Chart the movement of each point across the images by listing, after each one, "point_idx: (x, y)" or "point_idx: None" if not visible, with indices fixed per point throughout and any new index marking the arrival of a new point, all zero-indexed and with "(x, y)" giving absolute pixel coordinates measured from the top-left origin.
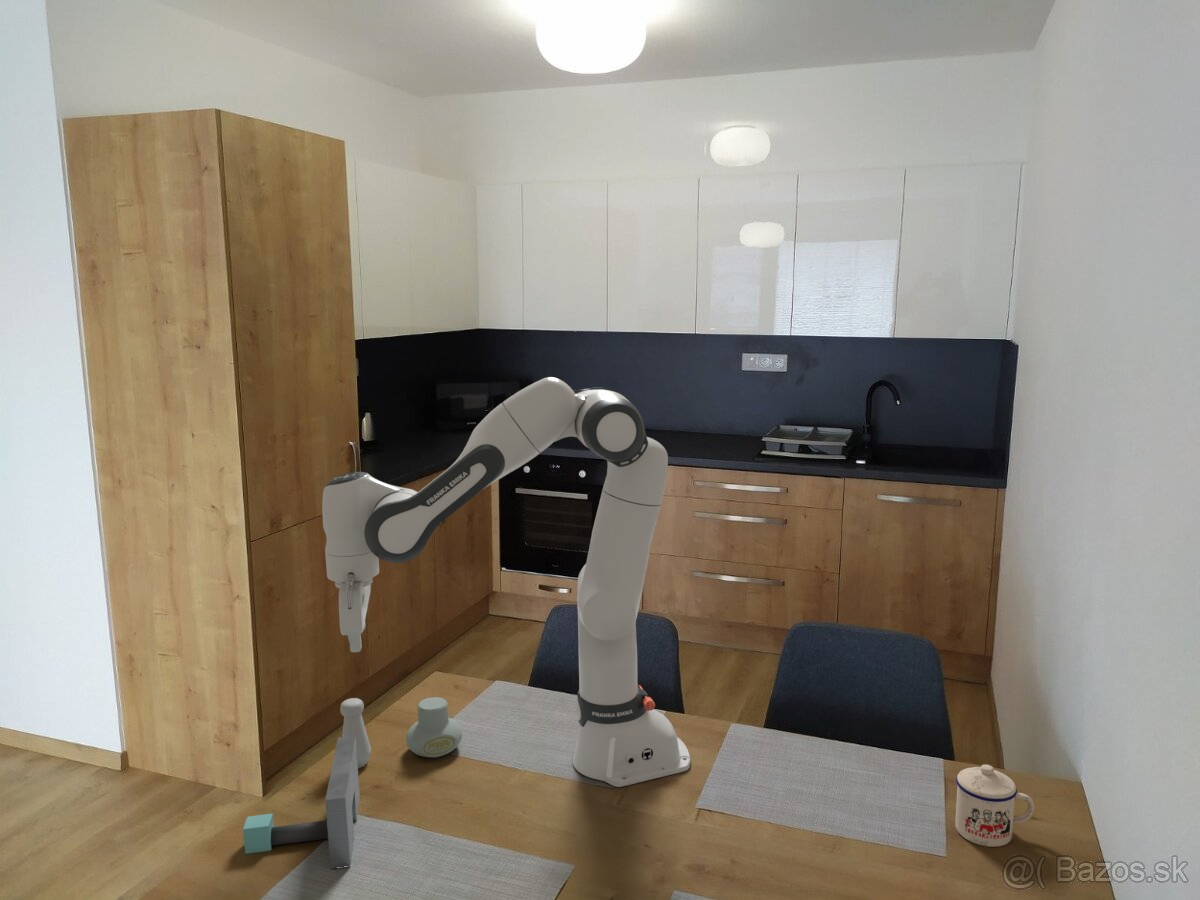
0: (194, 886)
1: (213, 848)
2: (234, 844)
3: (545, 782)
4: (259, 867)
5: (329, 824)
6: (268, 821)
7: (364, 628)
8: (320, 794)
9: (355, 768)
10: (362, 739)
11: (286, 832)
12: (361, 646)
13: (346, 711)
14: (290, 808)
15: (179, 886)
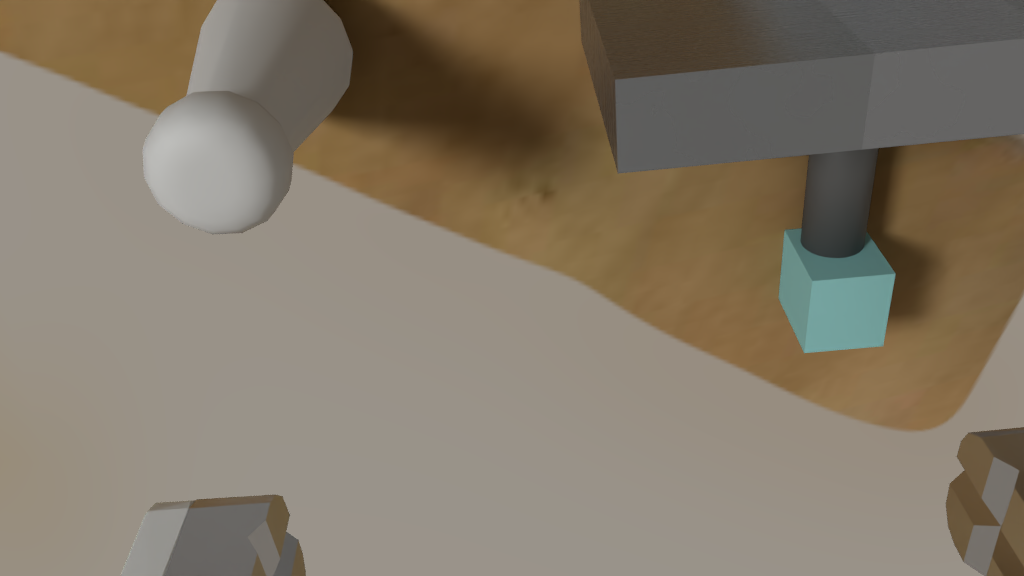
0: (964, 373)
1: (788, 380)
2: (785, 333)
3: None
4: (944, 234)
5: None
6: (864, 281)
7: (264, 514)
8: (528, 138)
9: (703, 19)
10: (293, 39)
11: (867, 203)
12: (988, 439)
13: (286, 186)
14: (609, 222)
15: (947, 406)
